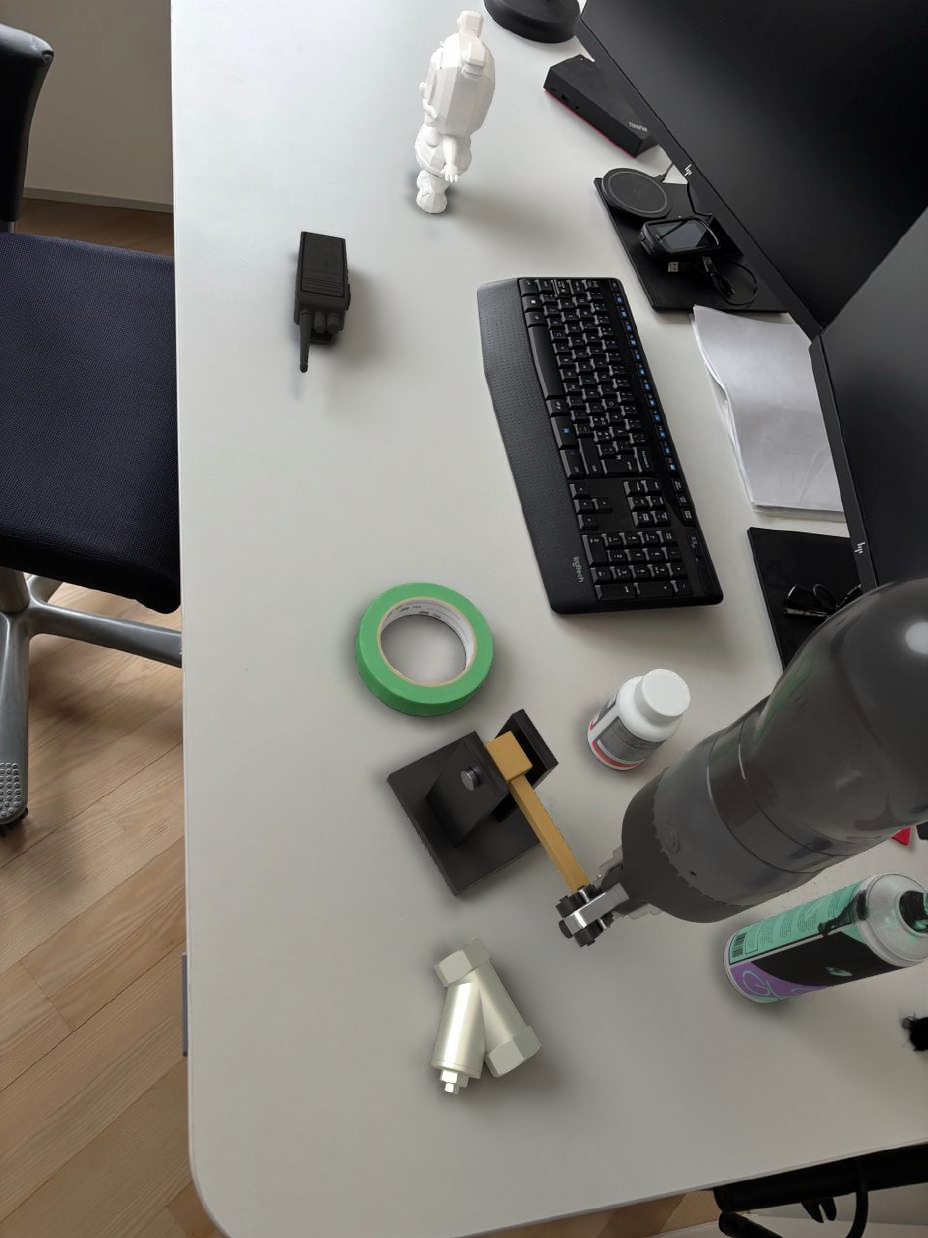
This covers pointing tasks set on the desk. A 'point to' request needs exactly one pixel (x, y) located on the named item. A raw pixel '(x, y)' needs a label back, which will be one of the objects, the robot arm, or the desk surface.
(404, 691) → the tape roll
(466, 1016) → the pipe fitting
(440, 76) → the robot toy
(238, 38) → the desk surface
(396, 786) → the black mounting base
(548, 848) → the faucet lever
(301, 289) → the walkie-talkie
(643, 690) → the pill bottle
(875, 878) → the spray can
